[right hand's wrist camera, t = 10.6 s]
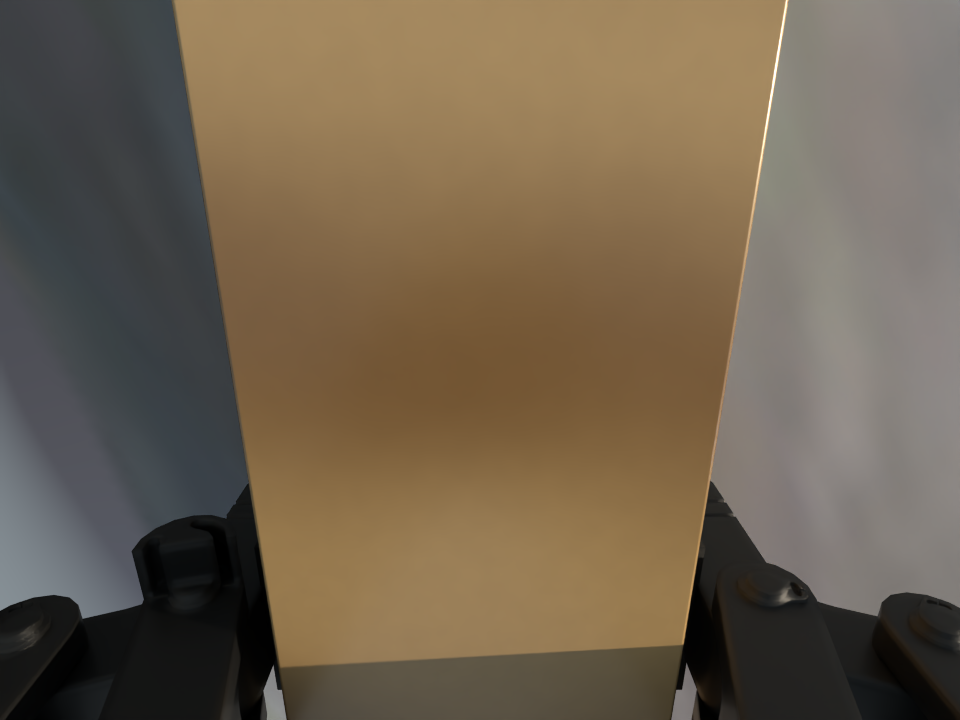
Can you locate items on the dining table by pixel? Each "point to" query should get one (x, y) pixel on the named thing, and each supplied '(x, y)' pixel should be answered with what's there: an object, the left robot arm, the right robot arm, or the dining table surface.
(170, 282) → the dining table surface
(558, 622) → the post
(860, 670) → the right robot arm
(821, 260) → the dining table surface
